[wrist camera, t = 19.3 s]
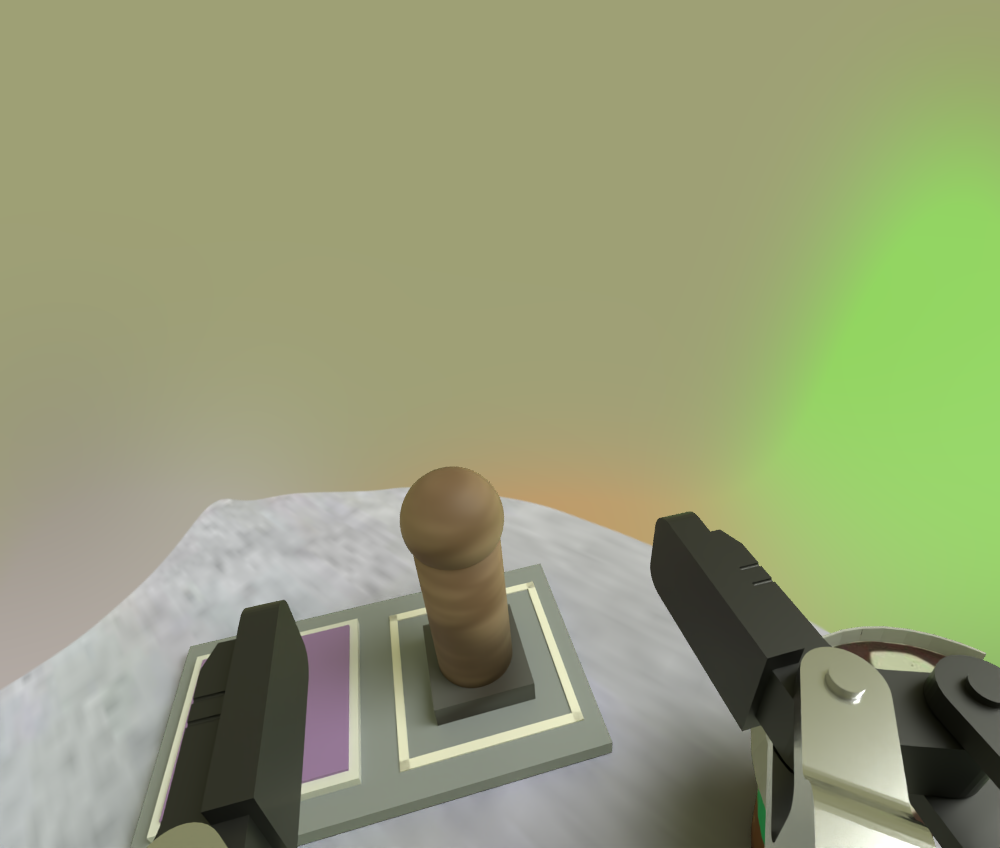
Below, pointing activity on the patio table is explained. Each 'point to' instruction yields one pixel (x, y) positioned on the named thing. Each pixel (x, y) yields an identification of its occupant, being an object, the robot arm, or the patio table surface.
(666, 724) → the patio table surface
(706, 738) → the patio table surface
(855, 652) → the food container
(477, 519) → the stamp
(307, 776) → the stamping board
